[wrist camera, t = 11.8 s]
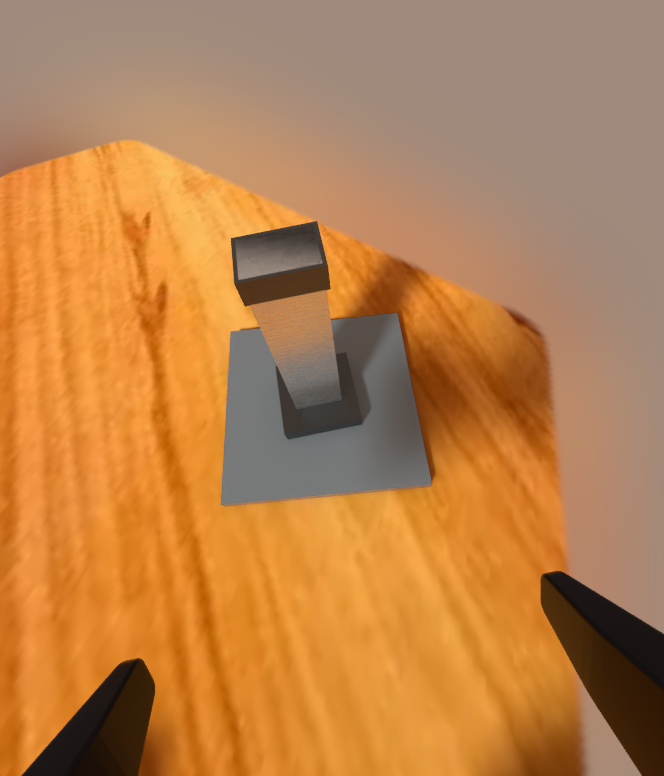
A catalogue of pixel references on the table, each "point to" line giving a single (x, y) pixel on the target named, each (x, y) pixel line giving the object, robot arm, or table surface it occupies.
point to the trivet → (328, 449)
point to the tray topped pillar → (297, 326)
